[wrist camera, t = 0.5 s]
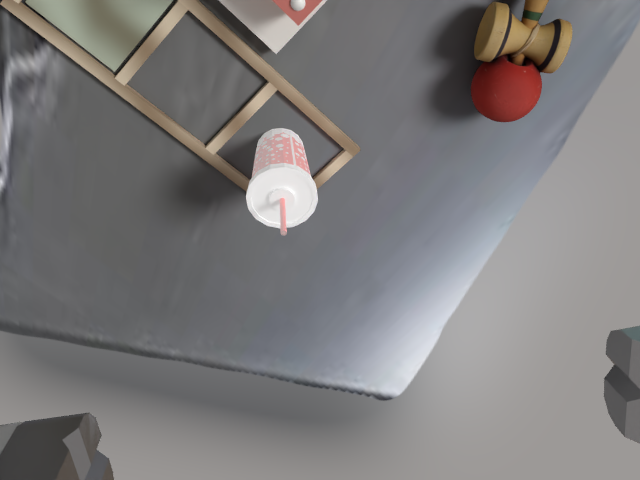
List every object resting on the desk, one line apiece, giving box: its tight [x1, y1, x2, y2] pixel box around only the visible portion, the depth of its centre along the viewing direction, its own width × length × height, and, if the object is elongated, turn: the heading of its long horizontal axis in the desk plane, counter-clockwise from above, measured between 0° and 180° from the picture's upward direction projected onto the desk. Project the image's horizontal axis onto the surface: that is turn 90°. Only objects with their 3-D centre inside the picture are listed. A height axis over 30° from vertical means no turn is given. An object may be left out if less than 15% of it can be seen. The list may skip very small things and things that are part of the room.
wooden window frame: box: [0, 0, 360, 192], centre depth 53 cm, size 11×31×1 cm, turn 45°
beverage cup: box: [246, 128, 318, 235], centre depth 53 cm, size 6×6×14 cm
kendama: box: [471, 0, 572, 122], centre depth 50 cm, size 8×6×18 cm
